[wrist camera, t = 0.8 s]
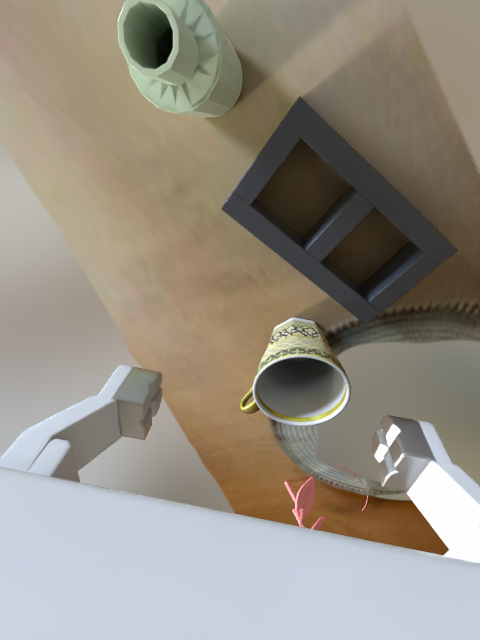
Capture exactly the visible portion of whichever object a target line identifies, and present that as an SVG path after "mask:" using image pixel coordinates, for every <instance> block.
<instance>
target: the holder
mask: <svg viewBox="0 0 480 640" xmlns="http://www.w3.org/2000/svg"><path fill="white" fill-rule="evenodd" d="M300 138H301V139H302V140H303V141H304V142H305V143H306V144H307V145H308V146H310V147H311V148H312V149H313V150H314V151H315V152H316V153H317V154H318V155H319V156H320V157H321V158H322V159H323V160H325V161H326V162H327V163H328V164H329V165H330V166H331V167H332V168H333V169H334V170H335V171H336V172H337V173H338V174H340V175H341V176H342V177H343V178H344V179H345V180H346V181H347V182H348V183H349V184H350V185H351V186H350V187H349V188H348V189H347V190H346V191H345V192H344V194H343V195H342V196H341V197H340V198H339V199H338V200H337V201H336V202H335V204H334V205H333V206H332V207H331V208H330V209H329V210H328V211H327V212H326V213H325V215H324V216H323V217H322V218H321V219H320V220H319V221H318V222H317V223H316V225H315V226H314V227H313V228H312V229H311V230H310V231H309V232H308V233H307V235H306V236H305V237H304V238H302V237H301V236H299V235H298V234H297V233H296V232H295V231H293V230H292V229H291V228H290V227H289V226H287V225H286V224H285V223H284V222H283V221H281V220H280V219H279V218H278V217H277V216H275V215H274V214H273V213H272V212H271V211H269V210H268V209H267V208H266V207H265V206H263V205H262V204H261V203H260V202H259V201H257V200H256V197H257V196H258V195H259V193H260V192H261V191H262V189H263V188H264V187H265V185H266V184H267V183H268V181H269V180H270V179H271V177H272V176H273V175H274V173H275V172H276V171H277V169H278V168H279V166H280V165H281V164H282V162H283V161H284V160H285V158H286V157H287V156H288V154H289V153H290V152H291V150H292V149H293V148H294V146H295V145H296V144H297V142H298V141H299V140H300ZM374 207H375V208H376V209H377V210H378V211H379V212H380V213H381V214H382V215H384V216H385V217H386V218H387V219H388V220H389V221H390V222H391V223H392V224H393V225H394V226H395V227H396V228H398V229H399V230H400V231H401V232H402V233H403V234H404V235H405V236H406V237H407V238H408V239H409V240H410V242H409V243H408V244H407V245H406V246H405V247H403V248H402V249H401V250H400V251H399V252H398V253H397V254H396V255H394V256H393V257H392V258H391V259H390V260H389V261H388V262H387V263H386V264H384V265H383V266H382V267H381V268H380V269H379V270H378V271H377V272H375V273H374V274H373V275H372V276H371V277H370V278H369V279H368V280H367V281H365V282H364V283H363V284H362V285H361V287H360V286H359V285H358V284H357V283H356V282H354V281H353V280H352V279H351V278H350V277H348V276H347V275H346V274H345V273H344V272H342V271H341V270H340V269H339V268H338V267H336V266H335V265H334V264H333V263H332V262H330V261H329V260H328V259H327V258H326V256H327V255H328V254H329V253H330V252H331V251H332V250H333V249H334V248H335V247H336V246H337V245H338V244H339V243H340V242H341V241H342V240H343V239H344V238H345V237H346V236H347V235H348V234H349V233H350V232H351V231H352V230H353V228H354V227H355V226H356V225H357V224H358V223H359V222H360V221H361V220H362V219H363V218H364V217H365V216H366V215H367V214H368V213H369V212H370V211H371V210H372V209H373V208H374ZM221 209H222V210H223V211H224V212H225V213H227V214H228V215H229V216H230V217H232V218H233V219H234V220H235V221H237V222H238V223H239V224H240V225H242V226H243V227H244V228H245V229H247V230H248V231H249V232H250V233H252V234H253V235H254V236H255V237H257V238H258V239H259V240H260V241H262V242H263V243H264V244H265V245H267V246H268V247H269V248H270V249H272V250H273V251H274V252H275V253H277V254H278V255H279V256H280V257H282V258H283V259H284V260H285V261H287V262H288V263H289V264H291V265H292V266H293V267H294V268H296V269H297V270H298V271H299V272H301V273H302V274H303V275H304V276H306V277H307V278H308V279H309V280H311V281H312V282H313V283H314V284H316V285H317V286H318V287H319V288H321V289H322V290H323V291H324V292H326V293H327V294H328V295H329V296H331V297H332V298H333V299H334V300H336V301H337V302H338V303H339V304H341V305H342V306H343V307H344V308H346V309H347V310H348V311H349V312H351V313H352V314H353V315H354V316H356V317H357V318H358V319H359V320H361V321H362V322H363V323H364V324H366V325H367V324H368V323H369V322H370V321H372V320H373V319H374V318H375V317H377V316H378V315H379V314H380V313H382V312H383V311H384V310H385V309H387V308H388V307H389V306H390V305H391V304H393V303H394V302H395V301H396V300H398V299H399V298H400V297H401V296H403V295H404V294H405V293H406V292H408V291H409V290H410V289H411V288H412V287H414V286H415V285H416V284H417V283H419V282H420V281H421V280H422V279H424V278H425V277H426V276H427V275H429V274H430V273H431V272H432V271H433V270H435V269H436V268H437V267H438V266H440V265H441V264H442V263H443V262H445V261H446V260H447V259H448V258H450V257H451V256H452V255H453V254H455V253H456V252H457V251H458V250H457V249H456V248H455V247H454V246H453V245H452V244H451V243H450V242H449V241H448V240H447V239H446V238H445V237H444V236H443V235H442V234H441V233H440V232H439V231H438V230H437V229H436V228H434V227H433V226H432V225H431V224H430V223H429V222H428V221H427V220H426V219H425V218H424V217H423V216H422V215H421V214H420V213H419V212H418V211H417V210H416V209H415V208H414V207H413V206H412V205H411V204H410V203H409V202H408V201H407V200H406V199H405V198H404V197H403V196H402V195H401V194H400V193H399V192H397V191H396V190H395V189H394V188H393V187H392V186H391V185H390V184H389V183H388V182H387V181H386V180H385V179H384V178H383V177H382V176H381V175H380V174H379V173H378V172H377V171H376V170H375V169H374V168H373V167H372V166H371V165H370V164H369V163H368V162H367V161H366V160H365V159H364V158H363V157H361V156H360V155H359V154H358V153H357V152H356V151H355V150H354V149H353V148H352V147H351V146H350V145H349V144H348V143H347V142H346V141H345V140H344V139H343V138H342V137H341V136H340V135H339V134H338V133H337V132H336V131H335V130H334V129H333V128H332V127H331V126H330V125H329V124H328V123H327V122H325V121H324V120H323V119H322V118H321V117H320V116H319V115H318V114H317V113H316V112H315V111H314V110H313V109H312V108H311V107H310V106H309V105H308V104H307V103H306V102H305V101H304V100H303V99H302V98H301V97H299V98H298V99H297V101H296V102H295V103H294V105H293V106H292V108H291V109H290V111H289V112H288V113H287V115H286V116H285V118H284V119H283V121H282V122H281V123H280V125H279V126H278V128H277V129H276V131H275V132H274V133H273V135H272V136H271V138H270V139H269V141H268V142H267V144H266V145H265V146H264V148H263V149H262V151H261V152H260V154H259V155H258V156H257V158H256V159H255V161H254V162H253V164H252V165H251V166H250V168H249V169H248V171H247V172H246V174H245V175H244V176H243V178H242V179H241V181H240V182H239V184H238V185H237V186H236V188H235V189H234V191H233V192H232V194H231V195H230V196H229V198H228V199H227V201H226V202H225V204H224V205H223V207H222V208H221Z"/></svg>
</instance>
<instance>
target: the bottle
mask: <svg viewBox="0 0 480 640" xmlns="http://www.w3.org/2000/svg"><path fill="white" fill-rule="evenodd" d="M118 35H119V45H120V47H121V49H122V51H123V53H124V55H125V57H126V60H127V62H128V66H129V70H130V74H131V76H132V78H133V80H134V81H135V83H136V85H137V86H138V88H139V90H140V91H141V93H142V95H143V96H144V97H146V98H147V99H148V100H149V101H150V102H151V103H153V104H154V105H155V106H156V107H157V108H159V109H162V110H166V111H169V112H172V113H176V114H183V115H190V116H197V117H205V118H213V117H219V116H222V115H224V114H225V113H227V112H228V111H229V110H230V109H232V107H233V106H234V105H235V103H236V102H237V100H238V98H239V95H240V92H241V89H242V81H243V75H242V67H241V62H240V60H239V58H238V55H237V53H236V51H235V49H234V47H233V46H232V44H231V42H230V41H229V39H228V37H227V36H226V34H225V33H224V31H223V29H222V28H221V26H220V24H219V23H218V21H217V19H216V18H215V16H214V15H213V13H212V11H211V10H210V8H209V7H208V5H207V4H206V3H205V2H204V1H203V0H128V1H126V2H125V3H124V6H123V8H122V11H121V14H120V16H119V19H118Z"/></svg>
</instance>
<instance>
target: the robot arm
mask: <svg viewBox="0 0 480 640" xmlns="http://www.w3.org/2000/svg"><path fill="white" fill-rule="evenodd" d="M161 382H162V373H160V372H156V371H151V370H147V369H142V368H137V367H131V366H126V365H120V366H118V367H117V369H116V370H115V371H114V373H113V374H112V376H111V377H110V379H109V380H108V381H107V383H106V385H105V386H104V387H103V389H102V390H101V391H100V393H99V394H98V396H94V395H93V396H91V397H89V398H87V399H85V400H84V401H81V402H79V403H77V404H75V405H73V406H71V407H69V408H67V409H65V410H63V411H62V412H60V413H58V414H56V415H54V416H52V417H50V418H48V419H46V420H44V421H42V422H40V423H38V424H36V425H34V426H32V427H30V428H29V429H26V430H24V431H23V432H22V433H21V435H20V436H19V437H18V438H17V439H16V440H15V442H14V443H13V444H12V445H11V446H10V447H9V448H8V450H7V451H6V452H5V453H4V454H3V455H2V457H1V458H0V640H480V485H479V484H478V483H477V482H476V481H474V480H473V479H472V478H471V477H470V476H469V475H468V474H467V473H465V472H464V471H463V470H462V469H461V468H460V467H459V466H458V465H454V464H452V462H451V460H450V458H449V456H448V454H447V452H446V450H445V448H444V446H443V444H442V442H441V440H440V438H439V436H438V434H437V432H436V430H435V428H434V426H433V425H432V424H431V423H429V422H424V421H418V420H412V419H407V418H401V417H395V416H389V415H386V416H385V417H384V418H383V419H382V421H381V424H382V427H381V428H379V429H377V430H376V431H375V433H374V436H373V439H372V451H373V455H374V457H375V458H376V459H377V461H378V462H379V463H380V464H379V466H378V467H377V470H378V474H379V477H380V481H381V484H382V487H387V488H391V489H396V490H400V491H405V492H407V494H408V496H409V497H410V498H411V500H412V501H413V502H414V504H415V505H416V506H417V507H418V509H419V510H420V511H421V513H422V514H423V515H424V517H425V518H426V519H427V521H428V522H429V523H430V525H431V526H432V527H433V529H434V530H435V531H436V533H437V534H438V535H439V536H440V538H441V539H442V540H443V542H444V543H445V544H446V546H447V547H448V548H449V551H448V552H447V553H446V554H445V555H438V554H433V553H428V552H423V551H418V550H413V549H408V548H403V547H398V546H393V545H388V544H383V543H378V542H373V541H368V540H363V539H358V538H353V537H348V536H343V535H338V534H333V533H328V532H323V531H318V530H313V529H308V528H303V527H298V526H293V525H288V524H283V523H278V522H273V521H269V520H264V519H259V518H254V517H249V516H244V515H239V514H234V513H229V512H224V511H218V510H214V509H209V508H204V507H199V506H194V505H189V504H184V503H179V502H174V501H169V500H164V499H159V498H154V497H149V496H144V495H139V494H134V493H129V492H124V491H119V490H114V489H109V488H104V487H99V486H94V485H90V484H85V483H80V480H79V475H78V471H79V470H80V469H81V468H83V467H84V466H85V465H86V464H88V463H89V462H90V461H91V460H92V459H94V458H95V457H96V456H98V455H99V454H100V453H101V452H103V451H104V450H105V449H107V448H108V447H109V446H111V445H112V444H113V443H114V442H116V441H117V440H118V439H119V438H121V436H124V437H130V438H136V439H142V440H145V438H146V436H147V434H148V432H149V430H150V427H151V425H152V417H153V416H155V415H156V414H157V411H158V409H159V406H160V402H161V398H162V389H161V387H160V384H161Z"/></svg>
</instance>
